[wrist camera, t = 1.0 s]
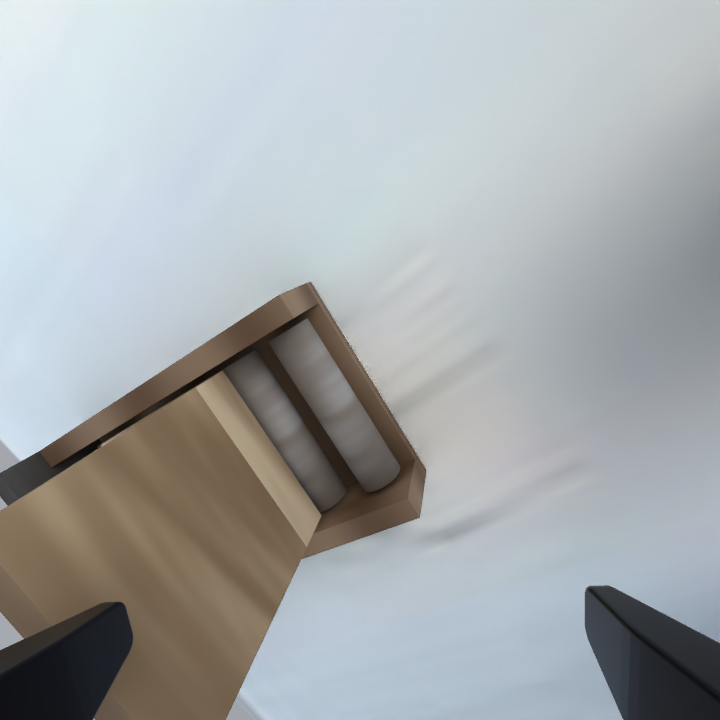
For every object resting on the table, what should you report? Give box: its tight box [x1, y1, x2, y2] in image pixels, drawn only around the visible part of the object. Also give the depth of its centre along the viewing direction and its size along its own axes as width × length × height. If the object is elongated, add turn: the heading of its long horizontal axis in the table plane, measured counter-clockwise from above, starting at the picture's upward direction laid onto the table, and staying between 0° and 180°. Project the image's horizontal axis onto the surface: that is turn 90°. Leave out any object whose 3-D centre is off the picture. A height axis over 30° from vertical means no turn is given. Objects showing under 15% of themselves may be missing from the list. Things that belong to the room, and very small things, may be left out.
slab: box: [0, 370, 321, 720], centre depth 15 cm, size 6×8×10 cm
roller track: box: [0, 282, 426, 559], centre depth 20 cm, size 17×11×6 cm, turn 122°
